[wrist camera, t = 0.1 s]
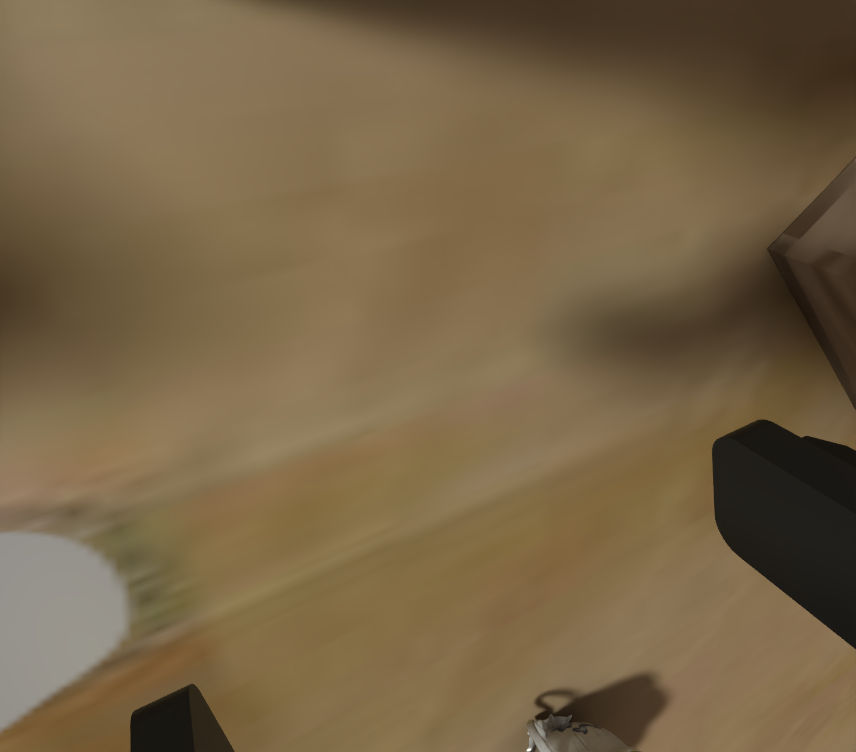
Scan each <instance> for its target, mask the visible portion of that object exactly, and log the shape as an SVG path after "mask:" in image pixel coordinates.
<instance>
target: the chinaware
mask: <svg viewBox="0 0 856 752" xmlns="http://www.w3.org/2000/svg"><path fill="white" fill-rule="evenodd" d="M571 717H572V715H570V716H568V717H563V716H556V717H554V716H553V715H552V714H550V715H549V718H548V719H547V720H546V721H542V720H538V721H534V720H529V721H528V722H527V725H526V726H527V729H528V731H529V732H528V733H527V734H528V735H530V738H529V748H528V750H527V751H526V752H641V751H639V750H637V749H636V748H634V747H628V746H627V745H626V744H625V743H624V742H623V741H621V740H620V739H619V738H618V737H617V736H615V735H614V734H612V733H611V732H609V731H608V730H606V729H604V728H602V727H600V726H597V725H594V724H590V723H585V722H570V723H569V721H570V719H571Z"/></svg>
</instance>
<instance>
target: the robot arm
mask: <svg viewBox="0 0 856 752" xmlns="http://www.w3.org/2000/svg"><path fill="white" fill-rule="evenodd" d="M712 461H713V485H714V509H715V520H716V524H717V526H718V529H719V531H720V533H721V535H722V537H723V539H724V540H725V542H726V543H727V544H728V546H729V547H730V548H731V549H732V550H733V551H734V552H735V553H736V554H737V555H738V556H739V557H740V558H742V559H743V560H744V561H745V562H747V563H748V564H749V565H750V566H752V567H753V568H754V569H755V570H757V571H758V572H759V573H760V574H762V575H763V576H764V577H766V578H767V579H768V580H769V581H771V582H772V583H773V584H774V585H776V586H777V587H778V588H779V589H781V590H782V591H783V592H784V593H786V594H787V595H788V596H789V597H791V598H792V599H793V600H794V601H796V602H797V603H798V604H799V605H801V606H802V607H803V608H805V609H806V610H807V611H808V612H810V613H811V614H812V615H813V616H815V617H816V618H817V619H818V620H820V621H821V622H822V623H823V624H825V625H826V626H827V627H828V628H830V629H831V630H832V631H833V632H835V633H836V634H837V635H839V636H840V637H841V638H842V639H844V640H845V641H846V642H847V643H849V644H850V645H851V646H852V647H854V648H855V649H856V451H855V450H853V449H851V448H850V447H848V446H845V445H841V444H837V443H833V442H829V441H825V440H821V439H817V438H814V437H810V436H805V437H803V438H801V437H799V436H797V435H795V434H793V433H792V432H790V431H788V430H786V429H784V428H782V427H781V426H779V425H777V424H775V423H773V422H771V421H768V420H757V421H755V422H752V423H750V424H748V425H746V426H744V427H742V428H740V429H738V430H735V431H733V432H731V433H729V434H727V435H725V436H723V437H721V438H719V439H717V440H716V441H715V442H714V444H713V448H712ZM130 732H131V752H235V751H234V750H233V748H232V746H231V744H230V743H229V741H228V739H227V737H226V736H225V734H224V732H223V730H222V729H221V727H220V725H219V724H218V722H217V720H216V718H215V717H214V715H213V713H212V711H211V710H210V708H209V706H208V704H207V703H206V701H205V699H204V697H203V696H202V694H201V692H200V691H199V689H198V688H197V687H196V686H195V685H194V684H190V685H188V686H186V687H184V688H182V689H180V690H177V691H175V692H173V693H171V694H169V695H167V696H165V697H163V698H160V699H158V700H156V701H154V702H152V703H150V704H148V705H145V706H143V707H141V708H139V709H137V710H135V711H134V712H133V713H132V716H131V725H130Z"/></svg>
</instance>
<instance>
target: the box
mask: <svg viewBox="0 0 856 752" xmlns="http://www.w3.org/2000/svg"><path fill="white" fill-rule="evenodd" d="M768 251H769V253H770V255H771V257H772V259H773V260H774V262H775V264H776V266H777V268H778V269H779V271H780V273H781V275H782V277H783V279H784V280H785V282H786V284H787V286H788V288H789V289H790V291H791V293H792V295H793V297H794V299H795V300H796V302H797V304H798V306H799V308H800V309H801V311H802V313H803V315H804V317H805V319H806V320H807V322H808V324H809V326H810V328H811V329H812V331H813V333H814V335H815V337H816V339H817V340H818V342H819V344H820V346H821V348H822V349H823V351H824V353H825V355H826V357H827V359H828V360H829V362H830V364H831V366H832V368H833V369H834V371H835V373H836V375H837V377H838V379H839V380H840V382H841V384H842V386H843V388H844V389H845V391H846V393H847V395H848V397H849V399H850V400H851V402H852V404H853V406H854V408H855V409H856V158H855V159H854V160H853V161H852V162H851V163H850V164H849V165H848V166H847V167H846V168H845V169H844V170H843V171H842V172H841V173H840V174H839V175H838V176H837V177H836V179H835V180H834V181H833V182H832V183H831V184H830V185H829V186H828V187H827V188H826V189H825V190H824V191H823V192H822V193H821V194H820V195H819V196H818V197H817V198H816V199H815V200H814V201H813V202H812V203H811V204H810V205H809V207H808V208H807V209H806V210H805V211H804V212H803V213H802V214H801V215H800V216H799V217H798V218H797V219H796V220H795V221H794V222H793V223H792V224H791V225H790V226H789V227H788V228H787V229H786V230H785V231H784V232H783V234H782V235H781V236H780V237H779V238H778V239H777V240H776V241H775V242H774V243H773V244H772V245H771V246H770V247H769V248H768Z"/></svg>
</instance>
